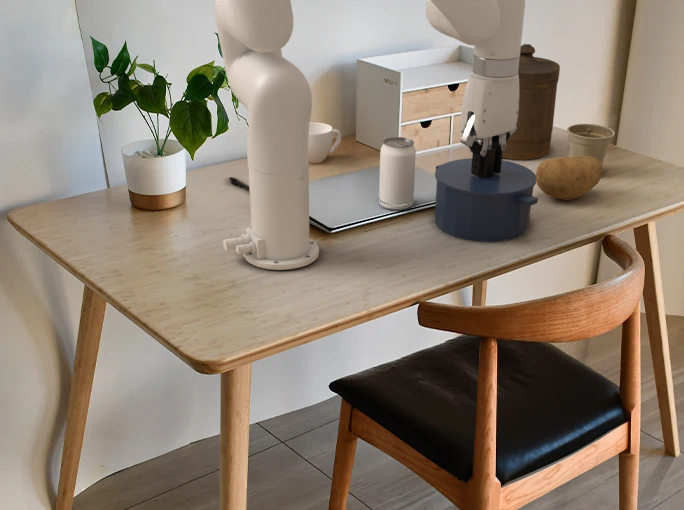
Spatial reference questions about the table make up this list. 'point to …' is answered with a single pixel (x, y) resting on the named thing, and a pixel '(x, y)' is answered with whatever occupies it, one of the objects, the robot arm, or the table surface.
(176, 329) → the table surface
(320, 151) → the cup
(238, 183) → the pen
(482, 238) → the pot
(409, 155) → the can
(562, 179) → the potato
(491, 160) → the lid
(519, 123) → the wooden container
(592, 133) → the flower pot
